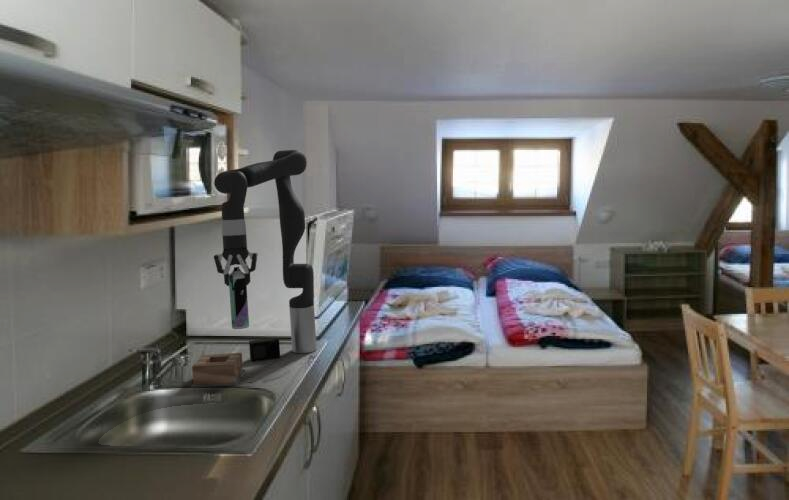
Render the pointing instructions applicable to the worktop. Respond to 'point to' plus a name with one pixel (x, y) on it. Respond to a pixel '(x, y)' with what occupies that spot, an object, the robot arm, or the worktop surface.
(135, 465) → the worktop surface
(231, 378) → the socket block
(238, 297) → the spray can
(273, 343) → the digital camera
